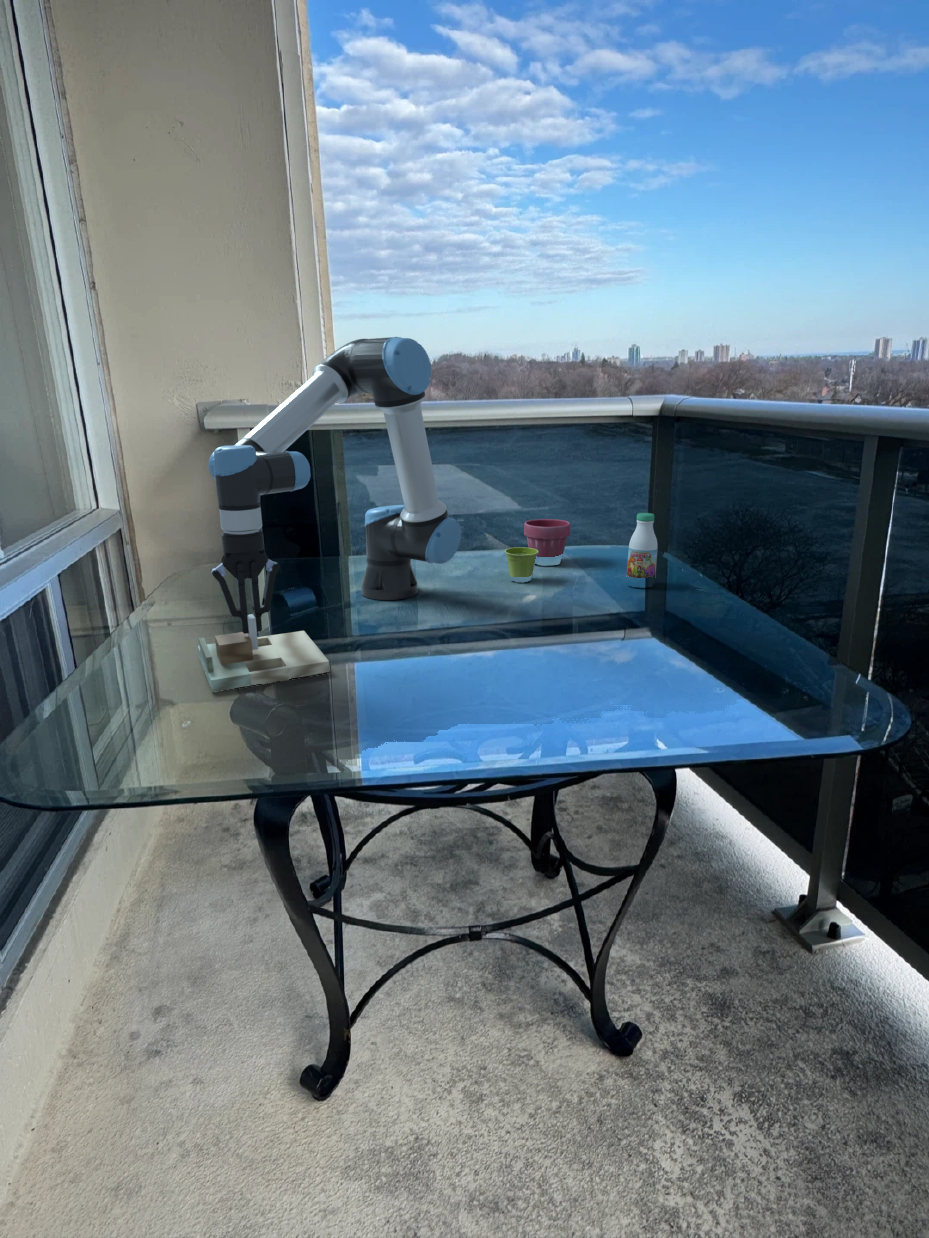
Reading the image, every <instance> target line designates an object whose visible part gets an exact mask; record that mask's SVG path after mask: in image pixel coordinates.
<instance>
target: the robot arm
mask: <svg viewBox="0 0 929 1238" xmlns="http://www.w3.org/2000/svg"><path fill="white" fill-rule="evenodd" d="M429 357H430V356H429V354H428V353H427V351H426V349H425V347H423V345H422V344H420V343H419V341H417V340H415V339H412V338H410V337H401V336H400V337H399V336H393V337H379V338H378V337H376V338H358V339H355V340H352V341H349V342H347V343H345V344H343V346H340V347H339V348H338V349H335V350H334V351H333V352H332V353H330V354H329V355H327V356H326V357H325V358H324V359H323V360H321V361H320V362H319V363H318V364H317V365H316V366H315V367H314V368H313V369H312V372H311V373H312V375H311V377H309V379H308V380H306V381H305V382H304V383H303V384H302V385H300V387H299V388H297V389H296V390H295V391H294V392H293V393H292V394H291V395H290V396H288V397H287V398H286V399H285V400H283V402H281V403H280V404H279V405H278V406H277V407H276V408H275V409H274V410H273V411H271V412H270V413H269V414H268V415H267V416H266V417H264V418H263V419H262V420H261V421H260V422H259V423H258V424H257V425H256V426H255V427H253V428H252V429H251V430H250V431H249V432H248V433H247V434H246V435H244V436H243V437H242V438H241V439H239V441H238V442H236V443H235V444H234V445H222V446H219V447H217V448H215V449H214V450H213V452H211V453H212V454H210V456H209V460H208V471H209V473H210V476H211V477H212V479H214V481H215V489H216V495H217V502H218V503H217V504H218V511H219V521H220V523H219V525H220V529H221V530H222V533H221V535H220V536H221V542H222V551H223V555H222V558H221V560H220V561H221V563H220V564H219V565H217V566H216V567H212V568H211V569H210V573H211V575H212V576H213V578H214V579H215V580H216V581H217V583H218V585H219V588H220V591H221V593H222V595H223V598H224V601H225V603H226V606H227V608H228V611H229V612H230V614H231V617H235V618H236V617H237V618H240V619H239V620H240V627H241V628H240V630H241V632H243V633H244V634H246V633H247V634H248V636H249V638H250V639H251V641H252V650H256V649H258V639H257V637H258V633H259V632H262V630H263V625H262V623H263V622H262V615H264V614H266V613H269V612H270V611H271V607H272V601H273V594H274V587H275V582H276V576H277V575H278V572H279V570H280V569H281V565H280V564H279V563H278V562H277V561H273V560H271V559H269V556H268V555H267V553H266V551H265V542H264V540H265V539H264V532H263V530H262V529H261V528H262V527H263V520H262V519H263V518H262V508H261V496H265V495H270V494H278V493H285V492H294V491H297V490H301V489H303V488H305V487H306V486H307V485H308V484H309V481H310V480H311V467H310V463H309V460H308V459H307V458H306V456H305V455H304V454H303V453H301V452H299V451H289V450H287V449H288V448H289V447H290V446H291V445H293V444H294V443H295V442H296V441H297V440H298V439H299V438H300V437H301V436H302V435H304V433H305V432H307V430H308V429H310V428H311V427H312V426H313V425H314V424H315V423H316V422H317V421H319V419H321V418H322V417H323V416H324V415H325V414H326V413H327V412H328V411H329V410H330V409H331V408H333V406H334V405H336V404H339V405H340V404H342V403H345V402H346V401H347V400H348V399H349V398H350V397H352V396H355V395H359V394H372V397H373V398H372V399H373V402H374V406H375V407H376V408H377V409H379V410H380V411H381V412H383V416H384V421H385V425H386V429H387V435H388V438H389V443H390V447H391V453H392V456H393V461H394V466H395V470H396V475H397V478H398V484H399V487H400V493H401V496H402V497H401V499H402V502H403V504H396V505H395V504H394V505H386V506H385V505H384V506H378V507H373V508H369V509H368V510H367V511H366V512H365V514H364V537H365V555H366V567H365V571H364V574H363V577H362V580H361V585H360V593H361V595H362V596H363V597H365V598H367V599H371V600H379V601H395V600H396V601H397V600H403V599H408V598H411V597H414V596H416V595H417V594H418V593H419V584H418V581H417V578H416V575H415V572H414V568H413V566H412V560H416V561H419V562H426V563H427V564H439V565H441V564H442V565H443V564H446V563H448V562H449V561H451V559H452V558H454V556H455V554H456V553H457V551H458V549H459V547H460V544H461V538H462V529H461V525H460V523H459V521H458V520H457V519H455V518H453V517H449V514H448V513H449V512H448V507H447V505H446V503H444V502H442V501H441V500H440V498H439V493H438V487H437V482H436V478H435V473H434V468H433V463H432V457H431V451H430V448H429V443H428V437H427V432H426V427H425V422H424V417H423V411H422V408H421V407H422V406H421V405H422V402H423V401H424V399H425V398H426V391H427V389H429V386H430V383H431V380H430V378H431V377H432V372H433V371H432V364H431V360H430V358H429ZM264 568H265V569H266V571H267V572H266V575H265V576H266V577H265V581H264V582H265V583H264V587H263V595H262V600H261V598H260V588H259V576H260V575H261V573H262V571H263V569H264ZM225 569H226V570H227V572H228V573H229V574H230V575H231V576H233V577H234V579H235V583H236V594H237V603H238V605H237V606H238V608H237V607H236V605H235V601H234V599H233V597H232V594H231V591H230V589H229V587H228V583H227V580H226V579H225V576H226V571H225ZM246 579H248V580H249V588H250V589H249V590H250V601H251V608H252V613H250V614H248V605H247V594H246V583H245V582H246Z"/></svg>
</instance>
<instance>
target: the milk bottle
mask: <svg viewBox="0 0 929 1238" xmlns="http://www.w3.org/2000/svg"><path fill="white" fill-rule="evenodd" d="M654 523H655V514H654V513H650V512H639V513H637V514H636V527H635V530H634V532H633V533H632V536H631V537H630V540H629V544H628V551H627V553H628V555H627V566H626V577H627V576H628V577H634V578H648V577H653V576H654V575H655V576H656V574H657V573H656V572H657V571H656V570H657V562H658V561H657V559H658V558H657V557H658V539H657V536H656V534H655V531H654Z"/></svg>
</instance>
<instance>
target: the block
mask: <svg viewBox="0 0 929 1238" xmlns="http://www.w3.org/2000/svg"><path fill="white" fill-rule="evenodd" d="M214 639H215V643H216V651H217V656H218V658H219V661H220V663H221V665H224V664H231V663H237V662H244V661H250V660H253V652H252V641H251V639H250V638H249V636H248V634H247V633H246V634H244V633H243V632H242V631H240V632H233V633H227V634H226V633H225V634H218V635H214Z"/></svg>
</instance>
